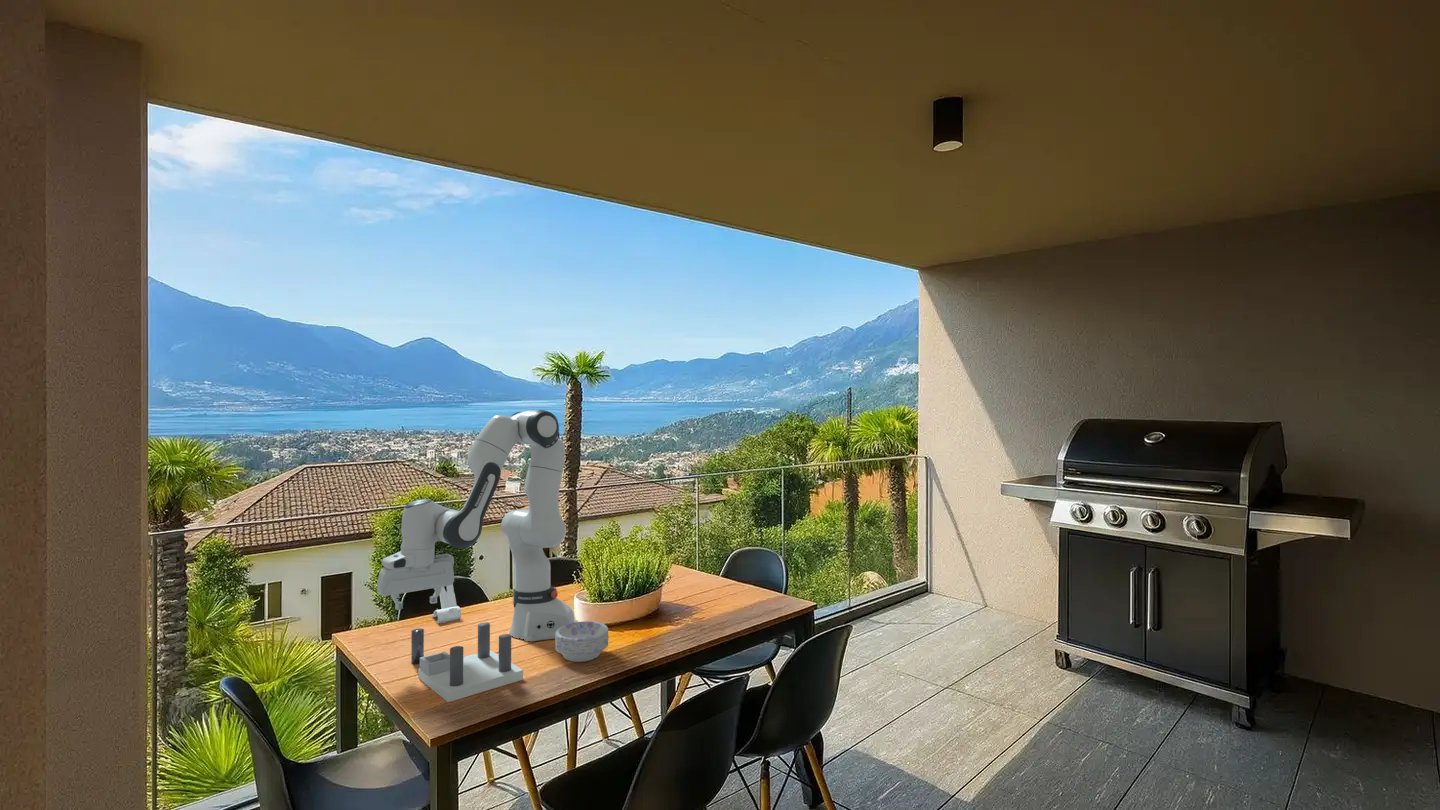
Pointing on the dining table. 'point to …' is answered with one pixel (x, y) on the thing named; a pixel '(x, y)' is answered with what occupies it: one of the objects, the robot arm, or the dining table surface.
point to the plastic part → (447, 606)
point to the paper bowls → (581, 640)
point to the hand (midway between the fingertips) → (416, 606)
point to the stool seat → (470, 668)
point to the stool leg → (417, 645)
